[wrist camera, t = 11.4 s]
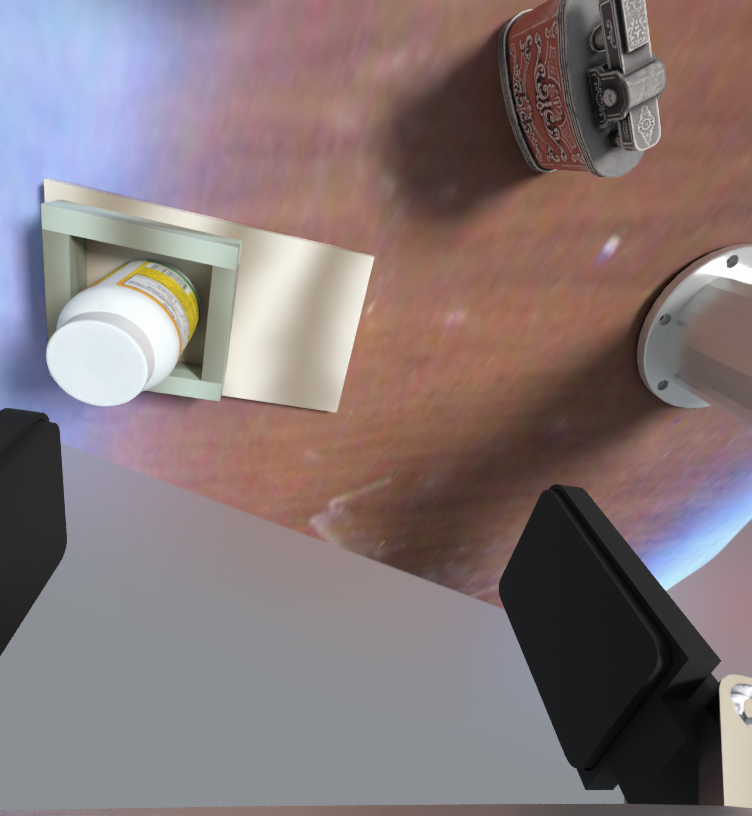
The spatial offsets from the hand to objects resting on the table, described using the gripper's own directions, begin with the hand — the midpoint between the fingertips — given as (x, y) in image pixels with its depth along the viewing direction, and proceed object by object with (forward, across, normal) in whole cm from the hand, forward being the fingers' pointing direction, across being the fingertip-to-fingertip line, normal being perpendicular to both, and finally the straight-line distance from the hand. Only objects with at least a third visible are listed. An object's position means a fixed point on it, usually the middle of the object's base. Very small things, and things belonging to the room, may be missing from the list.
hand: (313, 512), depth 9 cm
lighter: (+24, -10, -12) cm, 29 cm away
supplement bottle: (+22, +9, +4) cm, 24 cm away
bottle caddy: (+23, +6, +4) cm, 24 cm away
